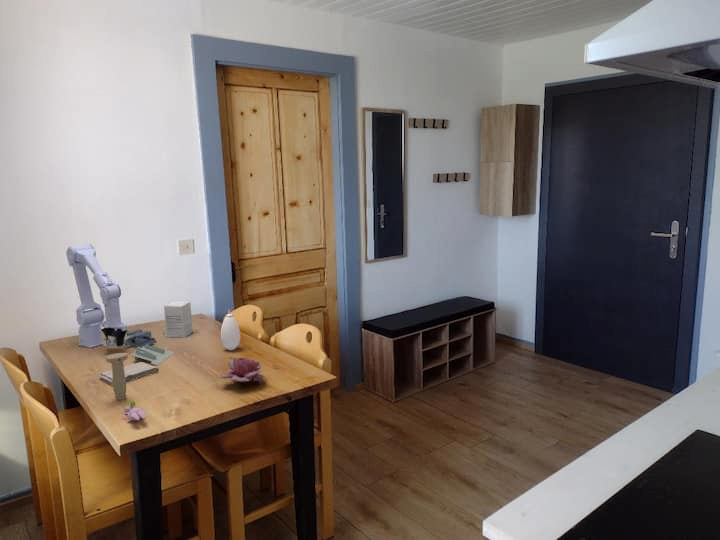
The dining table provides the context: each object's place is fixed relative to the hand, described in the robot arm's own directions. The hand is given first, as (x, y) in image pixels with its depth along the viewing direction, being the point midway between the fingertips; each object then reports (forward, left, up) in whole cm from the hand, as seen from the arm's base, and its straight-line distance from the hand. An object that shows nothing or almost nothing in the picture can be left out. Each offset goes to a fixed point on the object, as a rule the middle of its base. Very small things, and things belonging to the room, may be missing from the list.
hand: (115, 344), depth 227 cm
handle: (+45, -30, -3) cm, 54 cm away
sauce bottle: (+42, +25, -3) cm, 49 cm away
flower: (+73, -1, -3) cm, 73 cm away
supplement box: (+5, +30, -3) cm, 30 cm away
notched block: (0, 0, 0) cm, 0 cm away
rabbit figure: (+62, -38, -3) cm, 73 cm away
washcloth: (+29, -15, -4) cm, 33 cm away
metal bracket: (+21, +1, -4) cm, 21 cm away
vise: (+2, +5, -3) cm, 6 cm away
